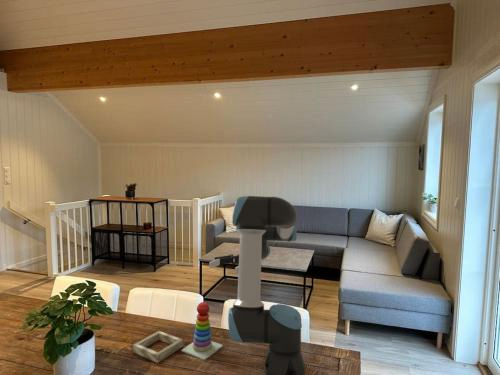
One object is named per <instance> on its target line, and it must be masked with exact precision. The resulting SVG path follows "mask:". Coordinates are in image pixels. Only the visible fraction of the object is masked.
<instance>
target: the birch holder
mask: <svg viewBox="0 0 500 375" xmlns="http://www.w3.org/2000/svg"><path fill="white" fill-rule="evenodd" d="M158 341H161V342H164V343H166V344H169V345H167V346H166V347H164V348H162V349H160V351H155V350H153V349H150V348H148V347H149V346H150V345H153V344H154V343H155V342H158ZM181 348H184V339H183V338H180V337H178V336H174V335H172V334H169V333H166V332H163V331H161V330H157V331H156V332H154V333H153V334H150V335H148V336H147V337H144V338H143V339H142V340H140V341H137V342H135V343H134V344H132V353H134V354H137V355H139V356H140V357H143V358H146V359H147V360H150V361H151V362H154V363H160V362H162V361H163V360H164V359H166V358H168V357H169V356H171V355H172V354H174V353H176V352H177V351H179V350H180V349H181Z"/></svg>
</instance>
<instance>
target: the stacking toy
mask: <svg viewBox="0 0 500 375" xmlns="http://www.w3.org/2000/svg"><path fill="white" fill-rule="evenodd" d="M196 311H197V315H196V319H195V328H194V335H193V339H192V343H193V348H194V349H195V350H197V351H207V350H209V349H210V348H211V347H212V342H211V341H212V332H211V323H210V319H209V318H210V315H209V312H210V306H209V303H207V302H205V301H201V302H200V303H198V304H197V306H196Z"/></svg>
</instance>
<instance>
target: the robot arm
mask: <svg viewBox="0 0 500 375" xmlns="http://www.w3.org/2000/svg"><path fill="white" fill-rule="evenodd" d="M232 210H233V211H232V216H231V217H232V226H234V227H236V228H235V230H236V232H237V233H238V234H239V250H238V251H239V253H238V254H237V255H234V254H229V255H221V256H215V257H214V260H211V261H209V264H208V266H209V267H208V268H209V269H214V268H215V267H219V266H220V265H224V264H225V265H226V264H232V265H238V266H236V267H234V273H235V275H238V276H237V298H236V300H235V301H234V302H233V303H232V307H230V308H229V309H228V313H227V314H228V317H227V320H228V325H227V326H228V332H229V336H230V339H231V340H232V341H233V342H238V343H243V344H246V343H250V344H252V343H253V344H267V345H269V346H268V350H267V354H266V356H265V359H264V363H263V370H264V374H265V375H306V364H305V363H306V362H305V361H304V357H303V354H302V351H301V349H302V325H303V323H302V315H301V313H300V312H299V310H298V309H296V308H294V307H293V306H290V305H287V304H281V303H280V304H279V303H278V304H272V305H270V307H269V309H265V304H264V302H263V301H262V300H261V284H262V283H261V281H262V280H261V279H262V277H261V276H262V261H264V260H265V259H266V258H268V257H269V256H270V254H271V248H270V246H269V245H268V241H269V242H270V241H271V242H289V243H290V242H295V241H297V237H298V235H297V233H298V232H297V226H295V224H296V223H297V219H298V213H297V210H296V208H295V206H294V205H292V203H290V202H289V201H288V200H286V199H284V198H281V197H278V196H259V195H258V196H257V195H246V196H245V195H244V196H239V197H237V199H236V201H235V202H234V206H233V209H232Z"/></svg>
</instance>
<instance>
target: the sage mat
mask: <svg viewBox="0 0 500 375" xmlns="http://www.w3.org/2000/svg"><path fill="white" fill-rule="evenodd" d="M211 342H212V347H211V348H210V349H209V350H207V351H197V350H195V349H194V348H193V342H191V343H189V344H188V345H187V346H185V347H183V348H182V349H181V350H180V351H181V352H183V353H185V354H186V355H190V356H192V357H195V358H198V359H200V360H202V361H206V360H207V359H208V358H210V357H211V356H212V355H214V354H215V353H216V352H219V350H221V349H222V348H223V347H224V345H223V344H222V343H218V342H216V341H212V340H211Z"/></svg>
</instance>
